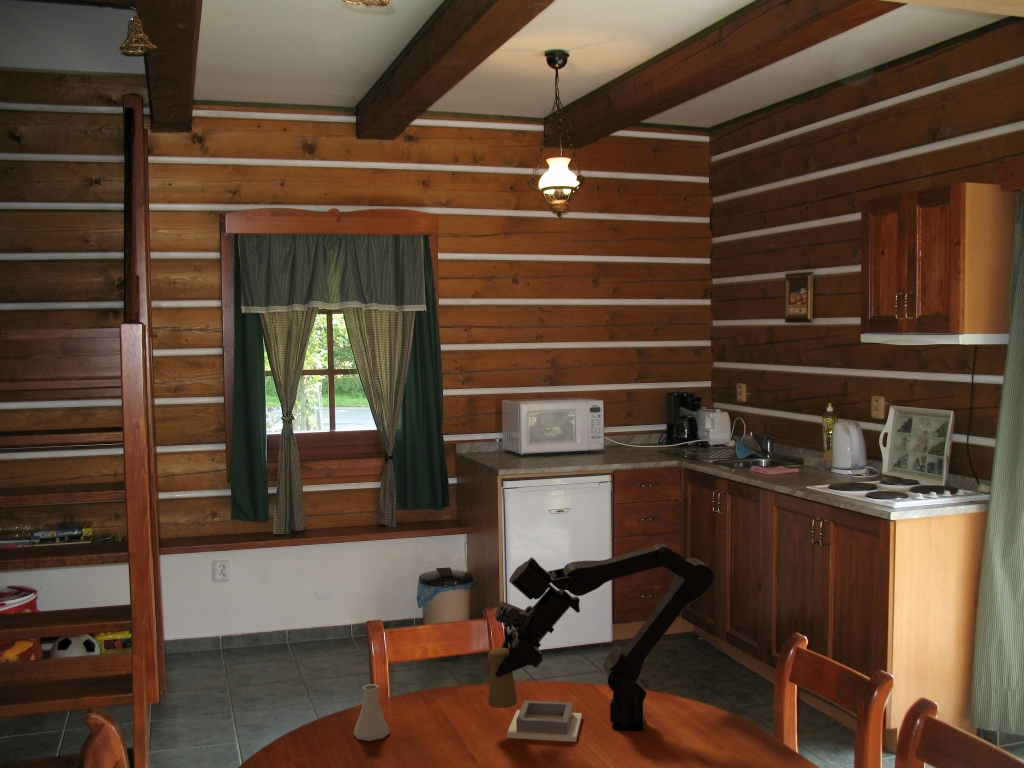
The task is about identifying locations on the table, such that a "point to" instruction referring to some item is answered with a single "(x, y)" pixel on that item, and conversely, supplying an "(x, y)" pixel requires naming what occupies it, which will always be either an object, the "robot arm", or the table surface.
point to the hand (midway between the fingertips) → (494, 671)
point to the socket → (545, 721)
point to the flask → (371, 717)
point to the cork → (500, 682)
